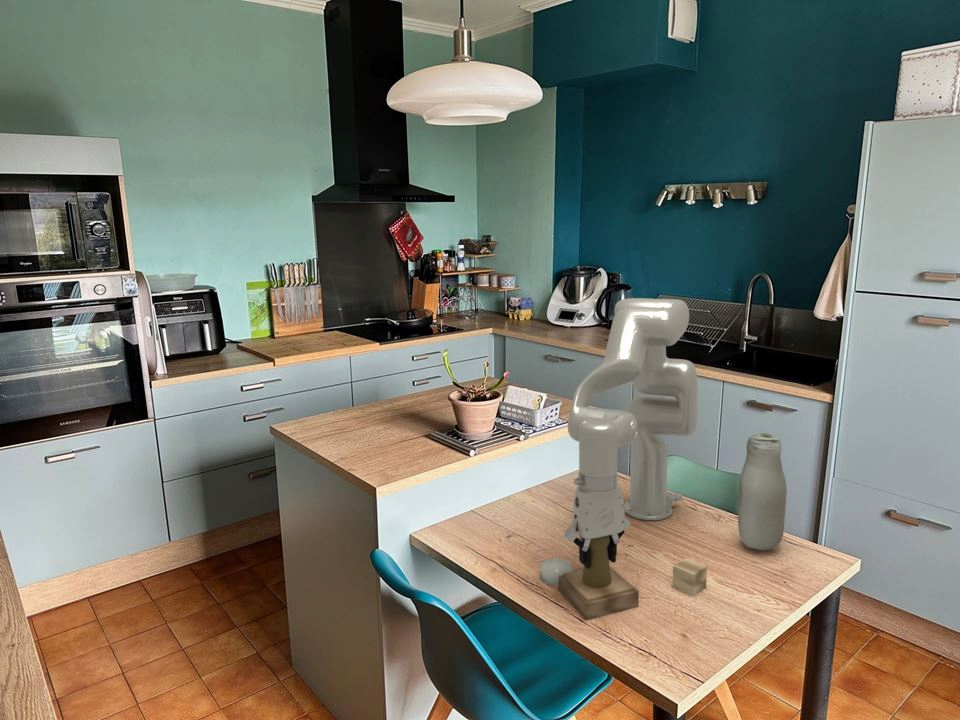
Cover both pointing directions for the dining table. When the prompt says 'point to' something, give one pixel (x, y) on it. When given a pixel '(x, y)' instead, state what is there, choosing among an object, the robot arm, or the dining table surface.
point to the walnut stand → (598, 595)
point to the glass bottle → (762, 494)
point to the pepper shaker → (598, 564)
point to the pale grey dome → (554, 570)
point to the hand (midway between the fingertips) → (598, 561)
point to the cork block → (689, 576)
